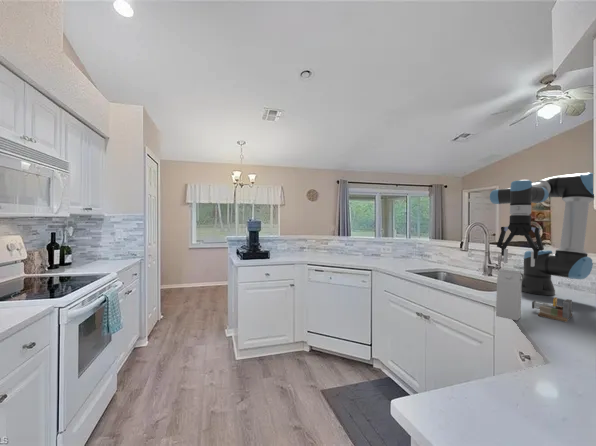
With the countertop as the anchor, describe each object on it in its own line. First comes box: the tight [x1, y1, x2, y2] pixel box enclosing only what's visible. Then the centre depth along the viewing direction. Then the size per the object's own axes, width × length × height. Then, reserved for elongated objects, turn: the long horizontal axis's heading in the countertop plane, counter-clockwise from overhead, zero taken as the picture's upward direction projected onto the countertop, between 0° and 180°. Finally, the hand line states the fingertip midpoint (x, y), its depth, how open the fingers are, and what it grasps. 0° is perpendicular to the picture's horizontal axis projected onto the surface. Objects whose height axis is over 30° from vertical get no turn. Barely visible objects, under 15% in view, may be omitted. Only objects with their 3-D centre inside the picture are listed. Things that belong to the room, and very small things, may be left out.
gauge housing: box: [537, 298, 573, 323], centre depth 115 cm, size 12×8×7 cm
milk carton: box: [495, 268, 522, 321], centre depth 113 cm, size 7×7×19 cm
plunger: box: [531, 297, 559, 310], centre depth 117 cm, size 4×8×6 cm, turn 37°
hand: (518, 264), depth 124 cm, fingers open, 9 cm apart
